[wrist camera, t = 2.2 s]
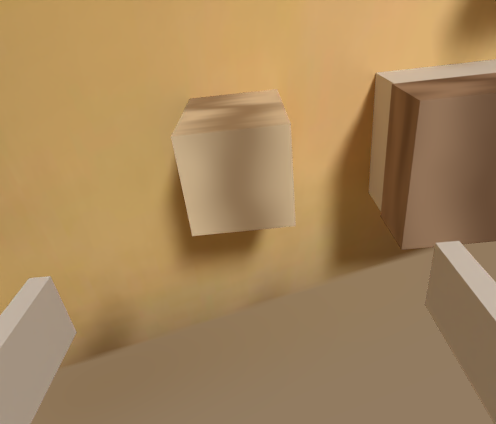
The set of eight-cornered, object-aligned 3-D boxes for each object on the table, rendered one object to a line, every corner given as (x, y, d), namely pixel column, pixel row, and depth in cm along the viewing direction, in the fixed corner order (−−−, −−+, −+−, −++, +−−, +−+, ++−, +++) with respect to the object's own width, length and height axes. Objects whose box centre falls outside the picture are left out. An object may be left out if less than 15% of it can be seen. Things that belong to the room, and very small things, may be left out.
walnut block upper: (380, 216, 26) (401, 249, 23) (391, 83, 22) (420, 100, 18) (511, 203, 26) (553, 235, 23) (550, 66, 22) (609, 80, 18)
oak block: (204, 178, 29) (192, 235, 22) (189, 98, 26) (170, 136, 19) (282, 170, 29) (295, 225, 22) (277, 88, 26) (290, 123, 19)
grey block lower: (367, 190, 30) (383, 216, 26) (374, 71, 25) (395, 83, 22) (482, 178, 30) (515, 203, 26) (510, 56, 25) (554, 66, 22)
